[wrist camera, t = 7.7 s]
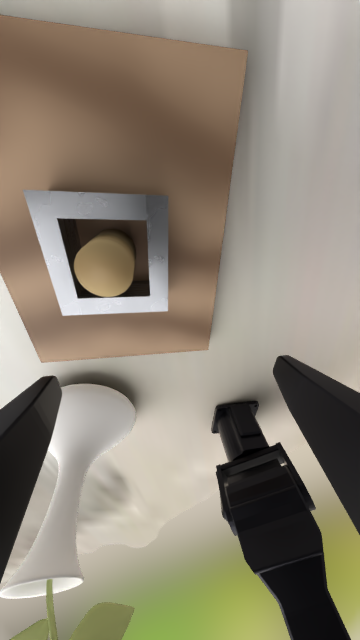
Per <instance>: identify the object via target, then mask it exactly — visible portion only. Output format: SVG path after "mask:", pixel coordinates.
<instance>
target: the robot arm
mask: <svg viewBox="0 0 360 640" xmlns="http://www.w3.org/2000/svg"><path fill="white" fill-rule="evenodd" d="M273 375H274V377H275V379H276V382H277V384H278V386H279V388H280V391H281V393H282V395H283V398H284V400H285V402H286V404H287V406H288V408H289V410H290V412H291V414H292V416H293V417H294V419H295V421H296V423H297V425H298V426H299V428H300V430H301V432H302V433H303V435H304V437H305V439H306V440H307V442H308V444H309V446H310V448H311V449H312V451H313V453H314V455H315V456H316V458H317V460H318V462H319V463H320V465H321V467H322V469H323V471H324V472H325V474H326V476H327V478H328V480H329V481H330V483H331V485H332V487H333V488H334V490H335V492H336V494H337V495H338V497H339V499H340V501H341V503H342V504H343V506H344V508H345V510H346V511H347V513H348V515H349V517H350V518H351V520H352V522H353V524H354V526H355V527H356V529H357V531H358V533H359V535H360V393H358V392H357V391H355V390H353V389H351V388H349V387H347V386H345V385H343V384H341V383H340V382H338V381H336V380H334V379H332V378H330V377H328V376H326V375H325V374H323V373H321V372H319V371H317V370H315V369H313V368H311V367H309V366H308V365H306V364H304V363H302V362H300V361H298V360H296V359H294V358H293V357H291V356H288V355H283V356H278V357H277V359H276V362H275V365H274V368H273ZM61 398H62V389H61V387H60V385H59V382H58V380H57V378H56V377H55V376H44V377H41V378H40V379H39V380H37V381H36V382H35V383H34V384H32V385H31V386H30V387H28V388H27V389H26V390H25V391H23V392H22V393H21V394H20V395H18V396H17V397H16V398H14V399H13V400H12V401H11V402H9V403H8V404H7V405H5V406H4V407H3V408H2V409H0V583H1V580H2V577H3V574H4V571H5V568H6V566H7V563H8V560H9V557H10V554H11V552H12V549H13V546H14V543H15V540H16V537H17V535H18V532H19V529H20V526H21V523H22V521H23V518H24V515H25V512H26V509H27V507H28V504H29V501H30V498H31V495H32V492H33V490H34V487H35V484H36V481H37V478H38V476H39V473H40V470H41V467H42V464H43V461H44V459H45V456H46V453H47V450H48V447H49V445H50V442H51V439H52V435H53V431H54V427H55V423H56V419H57V415H58V411H59V407H60V402H61ZM258 407H259V404H258V402H257V401H254V402H246V403H237V404H229V405H220V406H217V407H216V408H215V413H214V418H213V423H212V428H211V431H212V433H219V434H220V437H221V440H222V443H223V446H224V449H225V453H226V456H227V459H228V463H225V464H222V465H217V466H216V468H217V472H216V475H217V479H218V484H219V490H220V498H221V509H222V515H223V518H224V519H226V520H227V521H228V523H229V525H230V527H231V530H232V532H233V533H234V535H235V536H236V535H238V538H239V541H240V544H241V548H242V551H243V554H244V558H245V560H246V562H247V563H248V565H249V566H250V568H251V569H252V571H253V572H254V573H255V574H257V575H258V576H259V578H260V579H261V580H262V582H263V583H264V584H265V586H266V587H267V588H268V589H269V591H270V592H271V594H272V595H273V596H274V598H275V599H276V600H277V602H278V604H279V606H280V609H281V611H282V614H283V617H284V620H285V623H286V626H287V629H288V632H289V635H290V638H291V640H351V639H350V636H349V634H348V632H347V630H346V628H345V626H344V624H343V621H342V619H341V617H340V615H339V613H338V611H337V608H336V606H335V604H334V602H333V600H332V598H331V596H330V593H329V591H328V589H327V580H326V571H325V562H324V552H323V543H322V535H321V532H320V529H319V527H318V525H317V523H316V521H315V520H314V517H313V516H312V514H311V512H310V511H312V510H315V509H316V507H315V505H314V503H313V501H312V499H311V497H310V495H309V493H308V491H307V489H306V487H305V485H304V483H303V481H302V480H301V478H300V476H299V474H298V473H297V471H296V469H295V467H294V466H293V464H292V462H291V461H290V459H289V457H288V456H287V454H286V452H285V450H284V449H283V447H282V445H281V443H280V442H279V443H276V445H273V446H271V447H269V445H268V443H267V441H266V439H265V437H264V435H263V433H262V430H261V428H260V426H259V424H258V422H257V420H256V418H255V415H256V412H257V409H258ZM282 463H284V466H281V465H280V464H282Z"/></svg>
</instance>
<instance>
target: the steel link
mask: <svg viewBox="0 0 360 640" xmlns="http://www.w3.org/2000/svg"><path fill="white" fill-rule="evenodd" d="M23 192H24V196H25V199H26V202H27V205H28V208H29V211H30V215H31V218H32V221H33V224H34V227H35V230H36V233H37V237H38V240H39V243H40V246H41V249H42V252H43V255H44V259H45V262H46V265H47V268H48V271H49V274H50V277H51V281H52V284H53V287H54V290H55V293H56V296H57V300H58V303H59V306H60V309H61V312H62V315H63V316H67V315H90V314H114V313H138V312H161V311H168V196H164V195H140V194H116V193H91V192H67V191H43V190H23ZM75 219H108V220H147V241H148V262H149V280H144V281H132V283H131V285H130V286H129V288H128V289H127V290H126V291H125V292H123V293H122V294H120V295H117V296H113V297H102V296H98V295H95V294H93V293H91V292H90V291H88V290H87V289H85V288H84V287H83V286H82V285H81V283H80V282H79V280H78V279H77V277H76V274H75V270H74V260H75V257H76V255H77V253H78V252H79V250H80V249H81V244H80V239H79V235H78V230H77V225H76V221H75Z"/></svg>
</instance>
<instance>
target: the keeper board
mask: <svg viewBox="0 0 360 640" xmlns="http://www.w3.org/2000/svg"><path fill="white" fill-rule="evenodd" d="M247 55H248V51H247V50H240V49H233V48H226V47H219V46H212V45H205V44H198V43H192V42H185V41H178V40H171V39H164V38H157V37H150V36H143V35H136V34H129V33H122V32H115V31H108V30H101V29H94V28H88V27H81V26H74V25H67V24H60V23H53V22H46V21H39V20H32V19H25V18H18V17H11V16H4V15H0V273H1V275H2V278H3V280H4V282H5V284H6V286H7V288H8V291H9V293H10V295H11V297H12V299H13V302H14V304H15V306H16V308H17V310H18V313H19V315H20V317H21V319H22V321H23V324H24V326H25V328H26V330H27V332H28V335H29V337H30V339H31V341H32V343H33V345H34V348H35V350H36V352H37V354H38V356H39V359H40V361H41V363H44V362H57V361H70V360H83V359H96V358H109V357H122V356H135V355H148V354H161V353H173V352H186V351H199V350H208V347H209V340H210V332H211V325H212V317H213V310H214V302H215V295H216V287H217V280H218V272H219V265H220V257H221V250H222V242H223V235H224V227H225V220H226V212H227V205H228V197H229V190H230V182H231V175H232V167H233V160H234V152H235V145H236V137H237V130H238V122H239V115H240V107H241V100H242V92H243V85H244V77H245V70H246V62H247ZM23 190H43V191H67V192H91V193H116V194H140V195H164V196H168V311H161V312H138V313H114V314H90V315H67V316H63V315H62V312H61V309H60V306H59V303H58V300H57V296H56V293H55V290H54V287H53V284H52V281H51V277H50V274H49V271H48V268H47V265H46V262H45V259H44V255H43V252H42V249H41V246H40V243H39V240H38V237H37V233H36V230H35V227H34V224H33V221H32V218H31V215H30V211H29V208H28V205H27V202H26V199H25V196H24V192H23ZM75 221H76V225H77V230H78V235H79V239H80V244H81V249H80V250H79V252H78V253H77V255H76V257H75V260H74V270H75V274H76V277H77V279H78V280H79V282H80V283H81V285H82V286H83V287H84V288H85V289H87V290H88V291H90V292H91V293H93V294H95V295H98V296H102V297H113V296H117V295H120V294H122V293H123V292H125V291H126V290H127V289H128V288H129V286H130V285H131V283H132V281H144V280H149V262H148V241H147V220H108V219H75Z"/></svg>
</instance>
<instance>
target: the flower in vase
mask: <svg viewBox="0 0 360 640" xmlns="http://www.w3.org/2000/svg"><path fill="white" fill-rule="evenodd" d="M61 389H62V398H61V402H60V407H59V411H58V415H57V419H56V423H55V427H54V431H53V435H52V439H51V442H50V445H49V447H48V450H49V451H50V452H51V453H52V454H53V456H54V457H55V458H56V459H57V461H58V464H59V474H58V480H57V484H56V488H55V492H54V495H53V497H52V500H51V503H50V506H49V509H48V512H47V514H46V517H45V519H44V522H43V524H42V527H41V529H40V531H39V533H38V535H37V537H36V539H35V541H34V543H33V545H32V547H31V549H30V550H29V552H28V554H27V556H26V557H25V559H24V561H23V562H22V563H21V565H20V566H19V568H18V569H17V570H16V572H15V573H14V574H13V576H12V577H11V578H10V579H9V580H8V582H7V583H6V584H5V585H4V587H3V588H2V589H1V591H0V597H3V598H28V597H36V596H42V595H46V603H47V616H48V618H47V619H42V620H40V621H38V622H36V623H34V624H33V625H31V626H30V627H28V628H27V629H25V630H24V631H22V632H21V633H19V634H17V635H16V636H14V637H13V638H11V639H10V640H47V638H48V633H50V640H58V637H57V630H56V622H55V615H54V607H53V593H57V592H60V591H64V590H68V589H71V588H73V587H76V586H78V585H79V584H81V583H82V582H83V581H84V577H83V574H82V571H81V568H80V565H79V561H78V557H77V548H76V526H77V516H78V508H79V502H80V496H81V491H82V487H83V483H84V479H85V476H86V473H87V471H88V469H89V467H90V465H91V464H92V463H93V462H94V461H95V460H96V459H97V458H98V457H100V456H101V455H102V454H104V453H105V452H107V451H109V450H110V449H111V448H113V447H114V446H116V445H117V444H118V443H120V442H121V441H122V440H123V439H124V438H125V437H126V436H127V435H128V434H129V433H130V431H131V430H132V428H133V425H134V423H135V421H136V410H135V408H134V406H133V405H132V403H131V402H130V401H129V399H128V398H127V397H126V396H125V395H123V394H122V393H120V392H119V391H117V390H114V389H112V388H109V387H106V386H102V385H96V384H74V385H68V386H64V387H61ZM133 612H134V608H133V607H131V606H127V605H122V604H116V603H110V602H109V603H108V602H104V603H99V604H97V605H95V606H93V607H92V608H91V609H90V610H89V611H88V613H87V614H86V615H85V617H84V618H83V619H82V621H81V622H80V624H79V625H78V627H77V628H76V630H75V631H74V633H73V634H72V636H71V638H70V639H69V640H121V639H122V637H123V635H124V633H125V631H126V629H127V627H128V624H129V622H130V620H131V617H132V615H133Z"/></svg>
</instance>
